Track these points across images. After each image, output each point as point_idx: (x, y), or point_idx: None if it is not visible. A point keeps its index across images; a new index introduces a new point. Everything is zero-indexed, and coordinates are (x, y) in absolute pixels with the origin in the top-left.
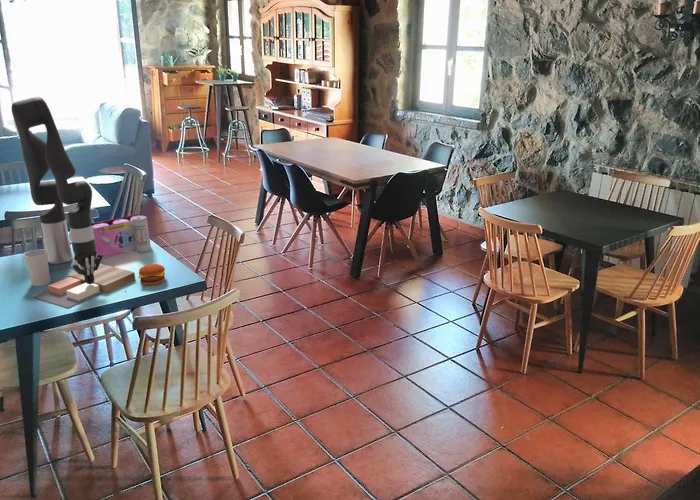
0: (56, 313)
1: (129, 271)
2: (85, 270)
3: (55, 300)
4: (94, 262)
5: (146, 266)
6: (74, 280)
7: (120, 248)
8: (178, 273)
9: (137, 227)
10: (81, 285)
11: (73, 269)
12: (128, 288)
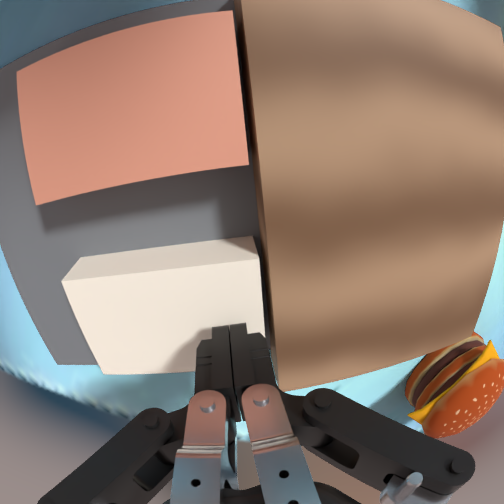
0: (17, 357)
1: (478, 310)
2: (222, 428)
3: (21, 247)
4: (359, 459)
5: (470, 415)
6: (202, 127)
7: None
8: (499, 356)
9: None
10: (181, 284)
11: (79, 473)
12: (363, 374)
